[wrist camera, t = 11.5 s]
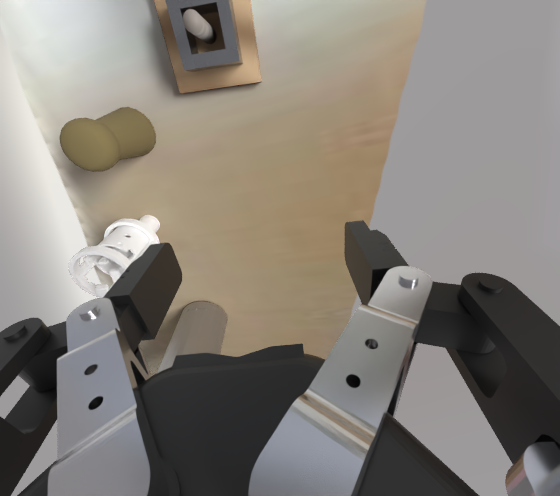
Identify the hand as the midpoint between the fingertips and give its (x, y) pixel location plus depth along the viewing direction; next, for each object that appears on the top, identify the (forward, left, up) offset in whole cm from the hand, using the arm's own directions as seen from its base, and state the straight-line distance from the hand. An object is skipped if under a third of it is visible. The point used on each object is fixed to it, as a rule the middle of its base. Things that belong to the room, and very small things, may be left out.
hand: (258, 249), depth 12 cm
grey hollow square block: (+12, +5, -27) cm, 30 cm away
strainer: (-10, +21, -28) cm, 37 cm away
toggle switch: (+12, +5, -28) cm, 31 cm away
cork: (+3, +18, -28) cm, 34 cm away
